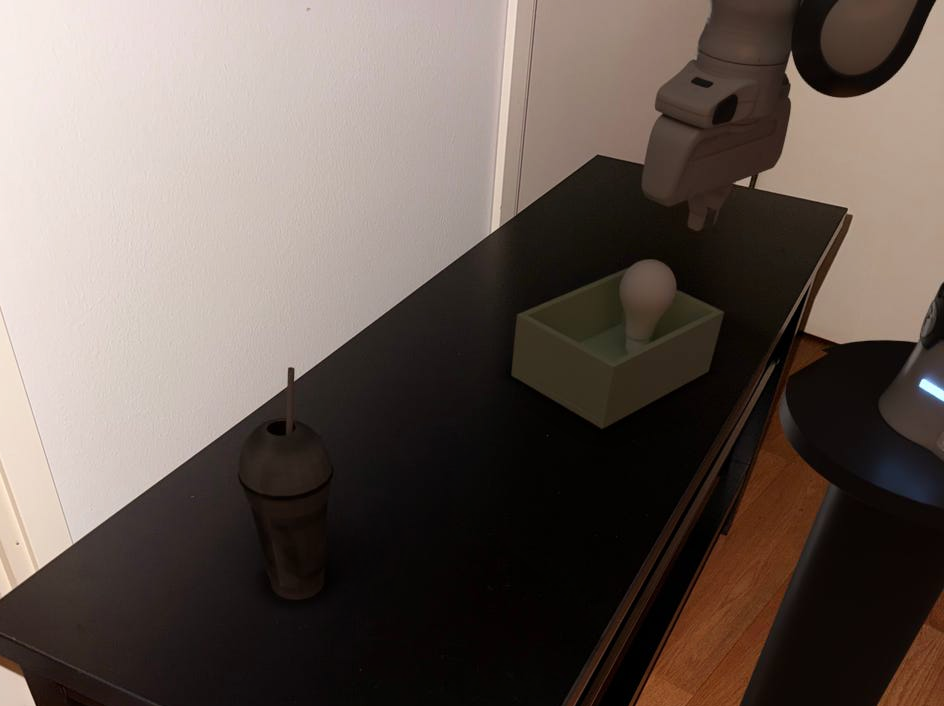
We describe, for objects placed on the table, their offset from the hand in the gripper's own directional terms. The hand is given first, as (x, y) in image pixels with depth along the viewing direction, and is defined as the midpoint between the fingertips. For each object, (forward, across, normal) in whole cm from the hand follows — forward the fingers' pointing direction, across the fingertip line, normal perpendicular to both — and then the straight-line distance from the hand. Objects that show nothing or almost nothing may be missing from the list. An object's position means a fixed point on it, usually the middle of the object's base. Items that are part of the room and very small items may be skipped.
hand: (700, 226), depth 103 cm
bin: (+14, +12, 0) cm, 18 cm away
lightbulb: (+13, +8, 0) cm, 15 cm away
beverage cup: (+14, +59, +6) cm, 61 cm away
